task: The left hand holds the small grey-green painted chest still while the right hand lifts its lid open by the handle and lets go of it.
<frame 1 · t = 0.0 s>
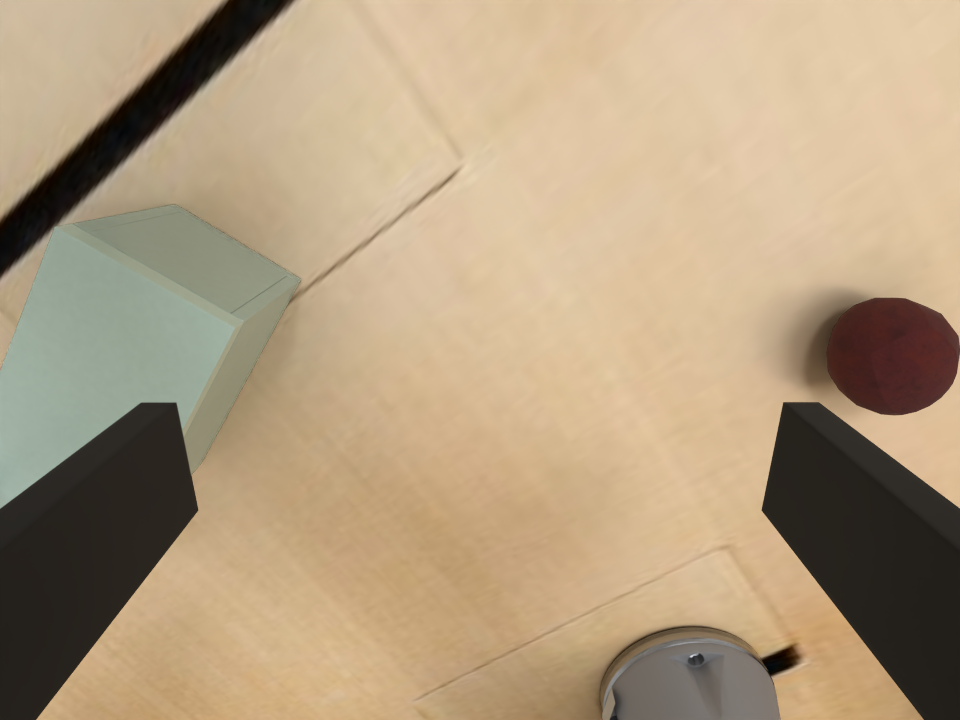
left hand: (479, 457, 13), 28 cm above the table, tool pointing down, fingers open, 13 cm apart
dark maroon ball: (855, 336, 41), on the table
chest: (189, 344, 41), on the table
lid: (43, 448, 28), point 15 cm above the table, hinge at 0.0°
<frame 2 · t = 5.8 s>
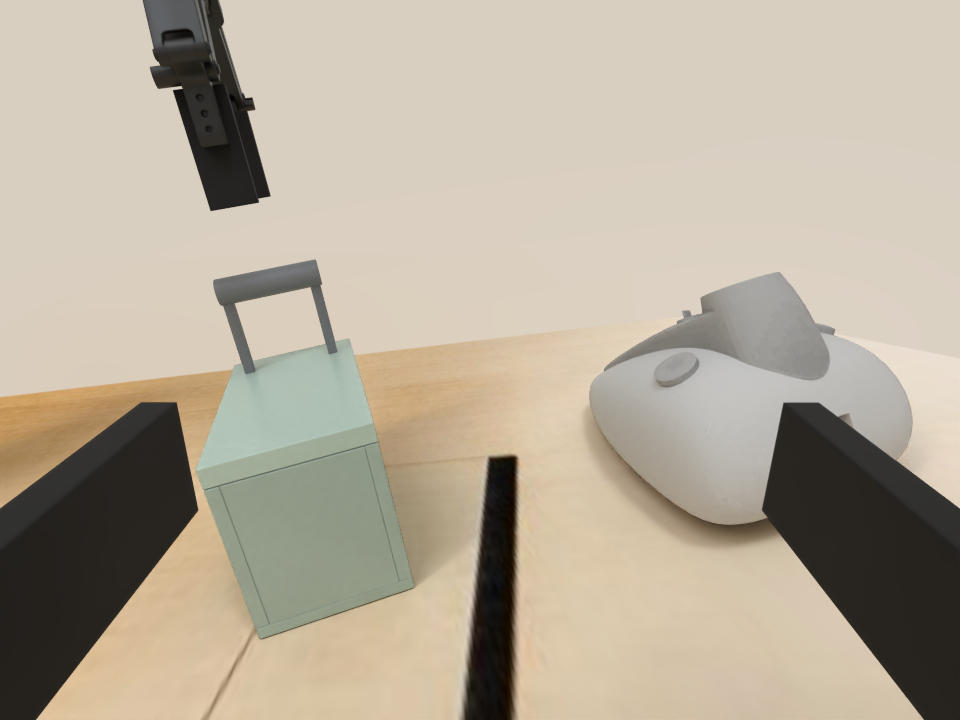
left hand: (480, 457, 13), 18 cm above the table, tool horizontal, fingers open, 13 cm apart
chest: (332, 531, 42), on the table
lid: (278, 346, 38), point 15 cm above the table, hinge at 0.0°
projector: (702, 452, 44), on the table
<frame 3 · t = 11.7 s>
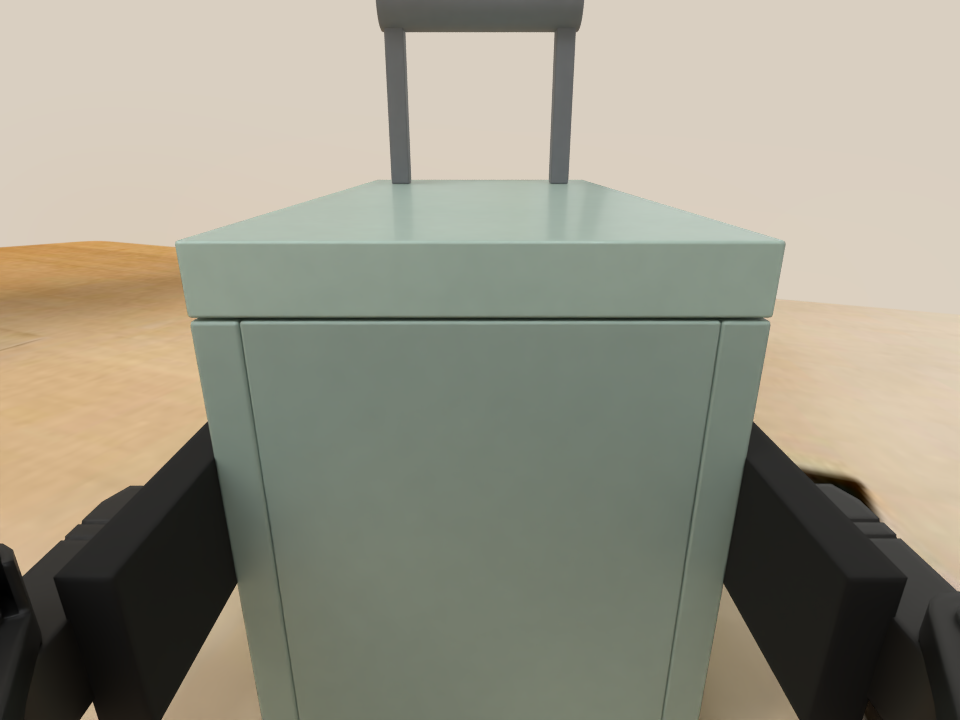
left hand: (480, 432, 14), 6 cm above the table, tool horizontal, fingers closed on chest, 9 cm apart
chest: (480, 524, 21), on the table, touching left hand
lid: (480, 83, 16), point 15 cm above the table, hinge at 0.0°
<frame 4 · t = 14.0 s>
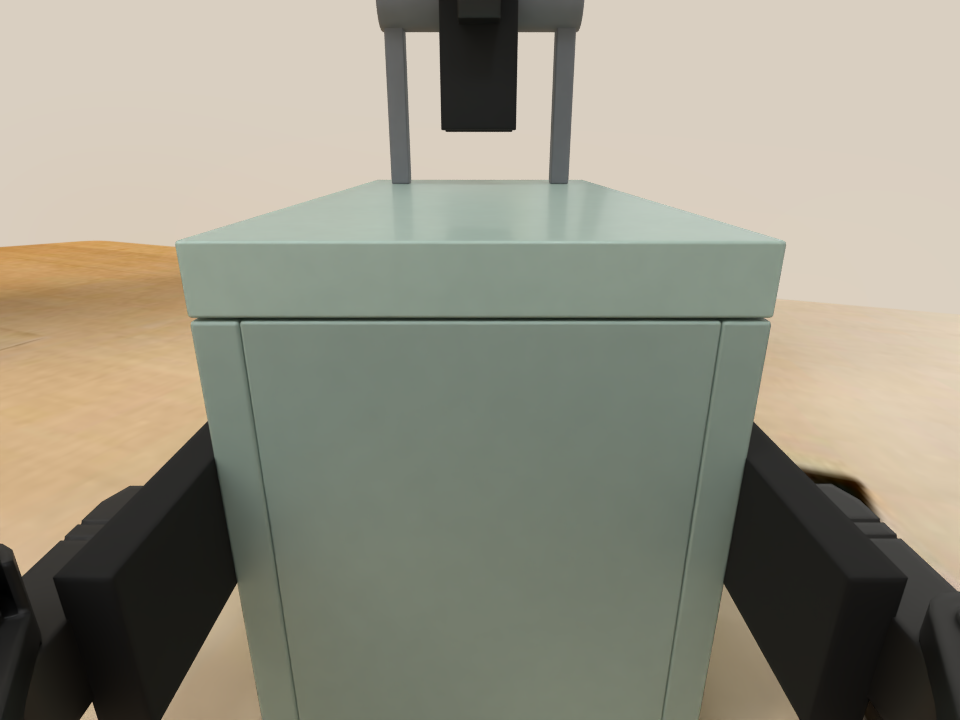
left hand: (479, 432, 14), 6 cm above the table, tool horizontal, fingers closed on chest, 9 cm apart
chest: (480, 524, 21), on the table, touching left hand
lid: (480, 83, 16), point 15 cm above the table, hinge at -0.1°, touching right hand
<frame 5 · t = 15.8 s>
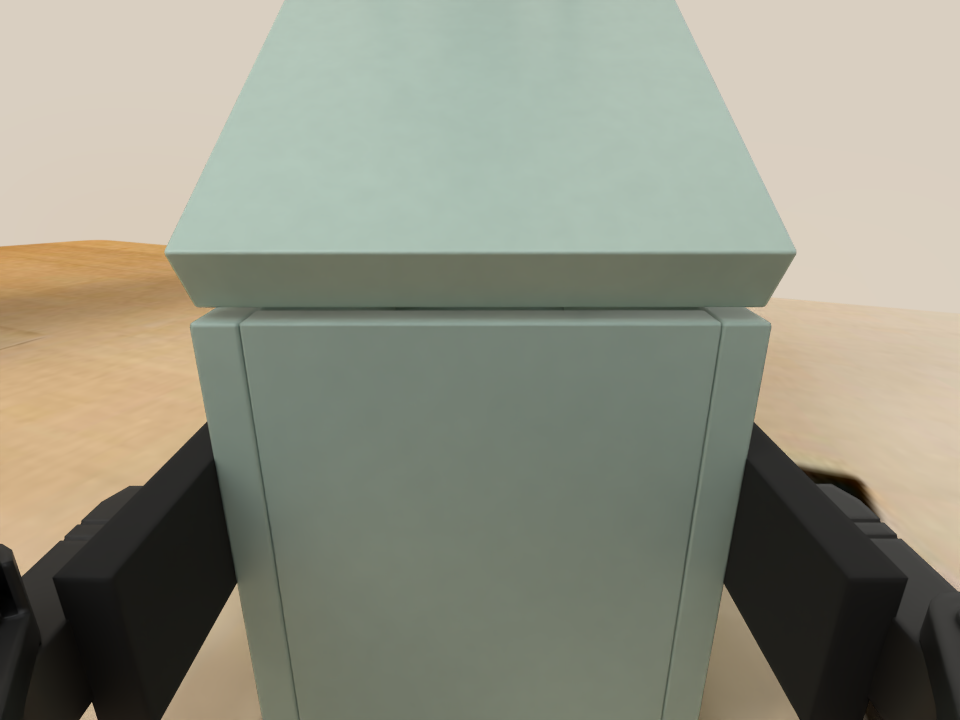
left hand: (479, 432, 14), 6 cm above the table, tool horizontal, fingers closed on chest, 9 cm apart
chest: (479, 523, 21), on the table, touching left hand
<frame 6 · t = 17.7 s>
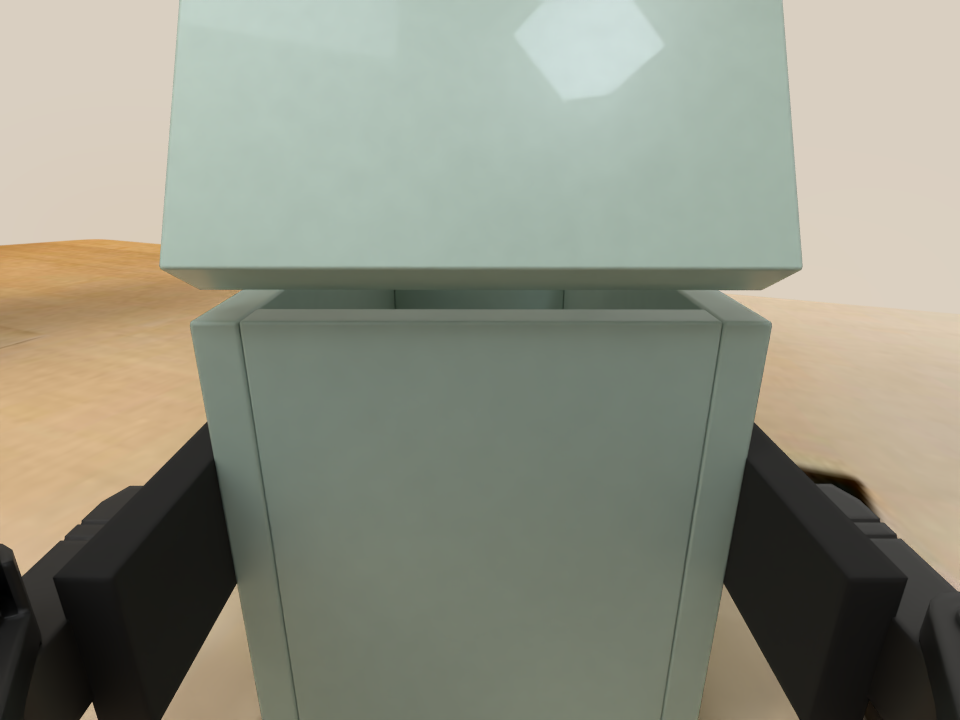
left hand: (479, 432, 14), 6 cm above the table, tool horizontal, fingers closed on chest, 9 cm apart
chest: (479, 522, 21), on the table, touching left hand
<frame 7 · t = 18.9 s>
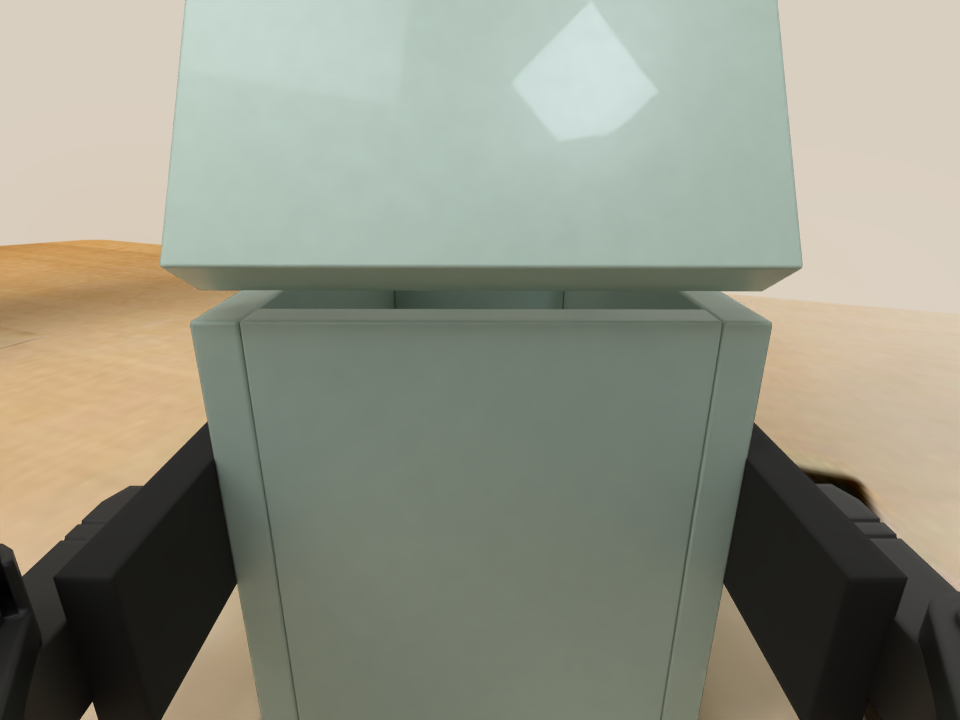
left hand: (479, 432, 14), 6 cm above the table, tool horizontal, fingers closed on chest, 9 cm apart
chest: (479, 522, 21), on the table, touching left hand
when the left hand's fingers open (6 cm above the table, at t = 21.4 s): chest stays where it is, on the table.
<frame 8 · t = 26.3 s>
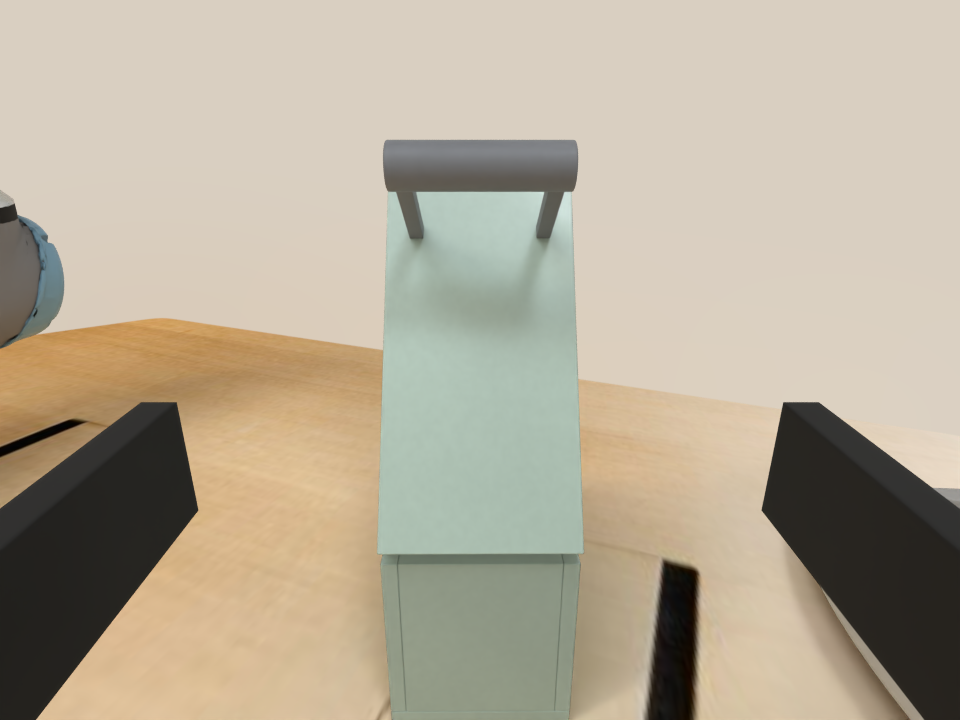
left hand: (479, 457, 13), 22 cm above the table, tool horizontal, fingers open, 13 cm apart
chest: (479, 600, 38), on the table
lid: (480, 340, 24), point 21 cm above the table, hinge at 58.9°
projector: (956, 656, 34), on the table
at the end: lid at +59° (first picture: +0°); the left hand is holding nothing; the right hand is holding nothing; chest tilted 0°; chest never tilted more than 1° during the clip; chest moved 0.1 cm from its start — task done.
